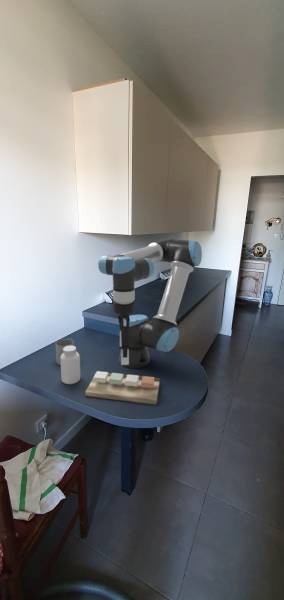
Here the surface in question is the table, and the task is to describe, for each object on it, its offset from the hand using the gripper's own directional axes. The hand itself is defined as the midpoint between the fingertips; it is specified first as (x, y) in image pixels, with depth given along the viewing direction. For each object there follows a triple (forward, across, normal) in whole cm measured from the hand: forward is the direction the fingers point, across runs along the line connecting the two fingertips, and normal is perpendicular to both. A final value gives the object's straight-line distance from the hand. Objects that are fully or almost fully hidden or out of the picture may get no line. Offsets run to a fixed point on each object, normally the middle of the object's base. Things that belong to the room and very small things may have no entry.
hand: (124, 354), depth 104 cm
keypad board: (+18, -4, 0) cm, 19 cm away
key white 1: (+15, -7, -9) cm, 19 cm away
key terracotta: (+15, -2, +10) cm, 18 cm away
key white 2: (+15, -4, +3) cm, 15 cm away
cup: (+19, -30, -27) cm, 45 cm away
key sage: (+14, -5, -3) cm, 16 cm away
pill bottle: (+18, -13, -22) cm, 32 cm away
